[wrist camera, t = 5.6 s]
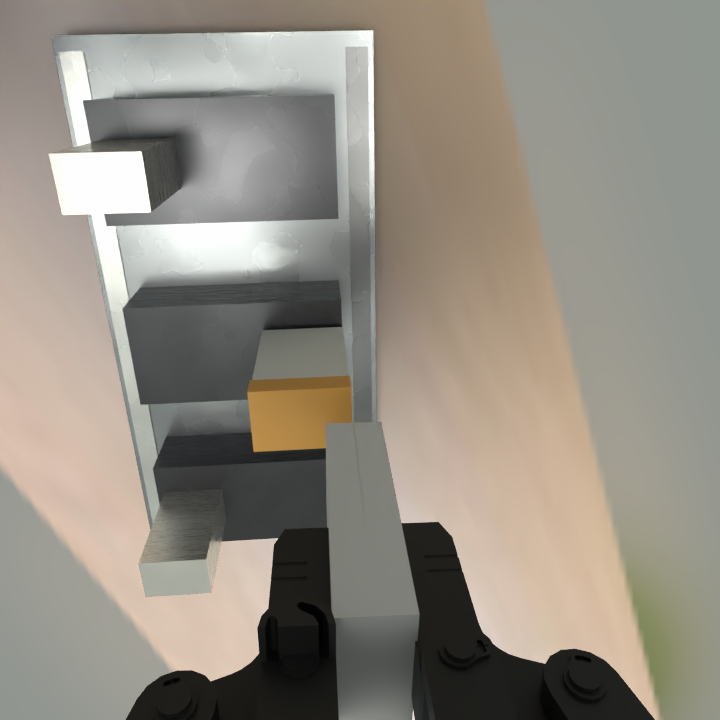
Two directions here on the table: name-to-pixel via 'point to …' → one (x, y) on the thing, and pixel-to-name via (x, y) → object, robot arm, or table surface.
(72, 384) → the table surface
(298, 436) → the handle
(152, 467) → the panel
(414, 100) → the table surface
